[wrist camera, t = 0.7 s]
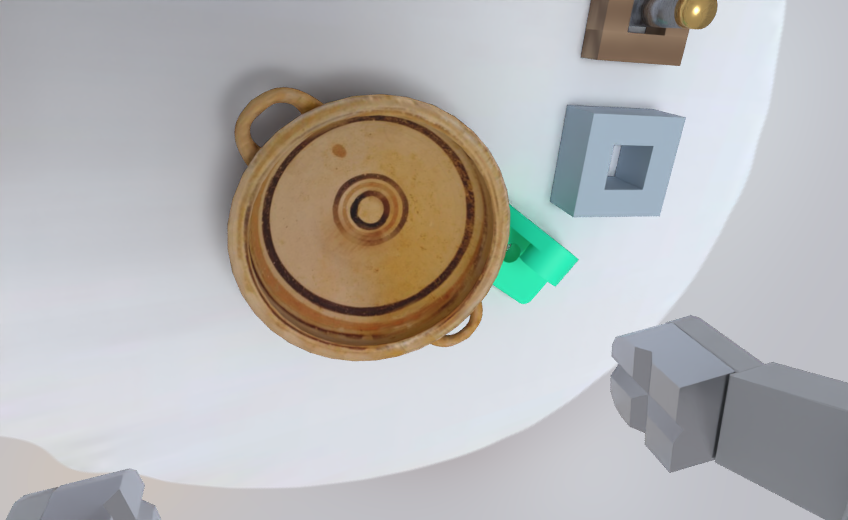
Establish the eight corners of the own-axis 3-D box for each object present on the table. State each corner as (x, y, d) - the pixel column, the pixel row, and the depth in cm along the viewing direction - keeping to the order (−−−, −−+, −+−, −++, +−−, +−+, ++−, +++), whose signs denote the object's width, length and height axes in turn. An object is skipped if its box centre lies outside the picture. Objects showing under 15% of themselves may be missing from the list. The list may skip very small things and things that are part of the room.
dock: (567, 105, 54) (594, 113, 50) (653, 109, 57) (685, 117, 52) (550, 201, 58) (573, 217, 54) (631, 201, 61) (659, 216, 56)
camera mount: (438, 243, 57) (471, 287, 48) (484, 184, 55) (527, 219, 46) (516, 296, 62) (558, 344, 53) (560, 244, 61) (611, 285, 52)
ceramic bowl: (534, 236, 59) (570, 266, 52) (364, 373, 61) (377, 420, 54) (362, -6, 45) (379, -9, 38) (147, 181, 47) (126, 211, 40)
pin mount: (600, -50, 49) (619, -53, 46) (684, -39, 51) (707, -41, 48) (580, 57, 52) (597, 59, 50) (660, 63, 55) (680, 65, 52)
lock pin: (622, -8, 51) (692, -12, 42) (648, -5, 52) (721, -8, 43) (615, 24, 52) (682, 27, 44) (640, 27, 53) (711, 30, 44)
